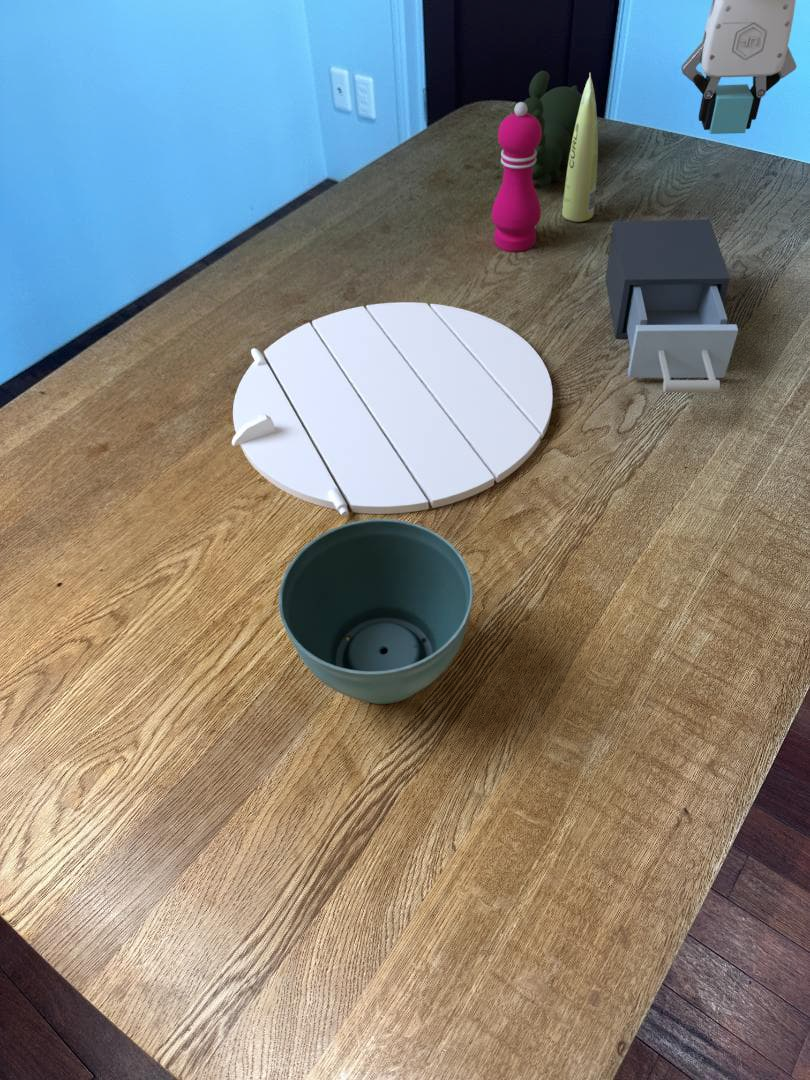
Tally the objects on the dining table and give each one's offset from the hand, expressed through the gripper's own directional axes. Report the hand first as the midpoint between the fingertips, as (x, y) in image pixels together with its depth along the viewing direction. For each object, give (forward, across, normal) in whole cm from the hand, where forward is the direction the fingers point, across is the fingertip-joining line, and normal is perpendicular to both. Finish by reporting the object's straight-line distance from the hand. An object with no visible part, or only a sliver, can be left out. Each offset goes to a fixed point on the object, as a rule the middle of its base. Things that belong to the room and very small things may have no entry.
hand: (725, 124), depth 112 cm
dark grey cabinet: (+15, -9, -21) cm, 28 cm away
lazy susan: (+15, -43, -42) cm, 62 cm away
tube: (+15, -18, +4) cm, 24 cm away
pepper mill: (+15, -28, -4) cm, 32 cm away
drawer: (+14, -8, -35) cm, 39 cm away
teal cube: (0, 0, 0) cm, 0 cm away
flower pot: (+15, -39, -80) cm, 90 cm away
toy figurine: (+15, -23, +20) cm, 34 cm away
